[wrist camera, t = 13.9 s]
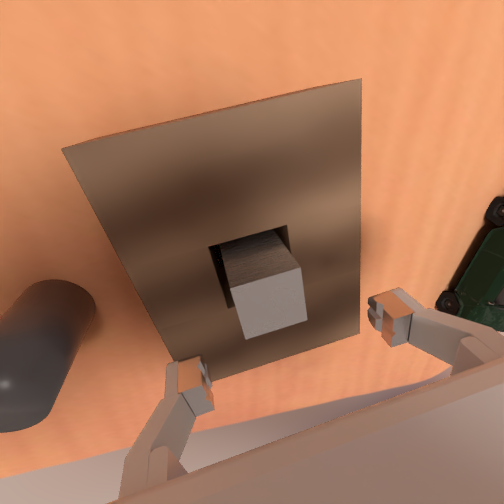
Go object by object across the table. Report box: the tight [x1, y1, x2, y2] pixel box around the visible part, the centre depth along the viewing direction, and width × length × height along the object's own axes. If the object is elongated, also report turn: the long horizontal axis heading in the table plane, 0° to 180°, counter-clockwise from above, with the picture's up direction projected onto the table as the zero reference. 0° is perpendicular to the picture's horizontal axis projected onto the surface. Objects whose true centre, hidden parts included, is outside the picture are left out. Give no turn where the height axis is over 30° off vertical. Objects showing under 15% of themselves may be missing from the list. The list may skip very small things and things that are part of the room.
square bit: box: [219, 229, 307, 339], centre depth 20 cm, size 4×4×10 cm
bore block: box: [61, 78, 362, 382], centre depth 21 cm, size 20×16×6 cm
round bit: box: [0, 280, 95, 433], centre depth 20 cm, size 6×6×9 cm
